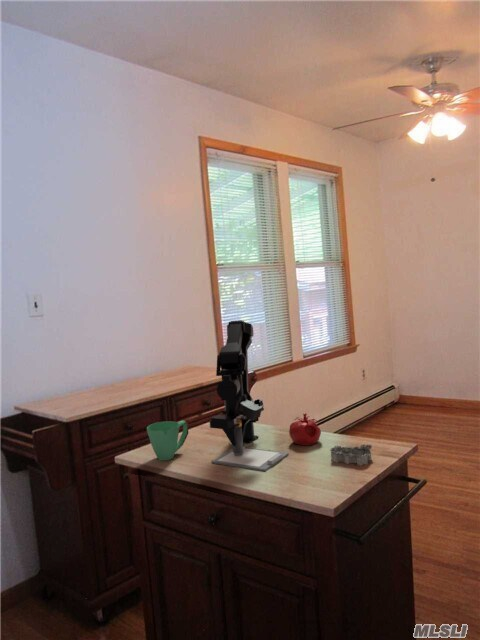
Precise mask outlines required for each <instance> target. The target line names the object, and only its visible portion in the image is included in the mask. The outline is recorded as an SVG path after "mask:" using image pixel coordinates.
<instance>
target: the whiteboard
mask: <svg viewBox="0 0 480 640" xmlns="http://www.w3.org/2000/svg"><path fill="white" fill-rule="evenodd" d="M289 454H290V453H289V452H285V451H284V452H283V451H276V450H269V449H260V448H253V447H247V446H243V454H242V455H238V456H237V455H234V452H233V448H232V449H231V450H229V451H227V452H225V453H223V454H221V455H220V456H218V457H216V458H215V459H212V460H211V464H215V465H221V466H222V465H223V466H230V467H235V468H241V469H249V470H255V471H260V472H266V471H268V470H269V469H271V468H272V467H273V466H275V465H277V463H279V462H280V461H282V460H283V459H284V458H286V457H287V456H289Z"/></svg>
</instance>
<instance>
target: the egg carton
mask: <svg viewBox="0 0 480 640" xmlns="http://www.w3.org/2000/svg"><path fill="white" fill-rule="evenodd" d="M372 448H373V446H372V444H361V445H360V446H359V445H356V446H341V445H334V447H331V449H329V451H330V457H331V460H330V461H333V460H334V461H333V463H339V461H340V462H344V464H345V463H346V464H347V465H350V464H356V463H357V464H356V465H357V466H364V465H363V464H365V465H368V464H369V463H368V461H372V451H371V450H372ZM349 463H350V464H349Z"/></svg>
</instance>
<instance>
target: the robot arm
mask: <svg viewBox="0 0 480 640" xmlns="http://www.w3.org/2000/svg"><path fill="white" fill-rule="evenodd" d="M253 327H254V326H253V325H252V323H249V322H246V321H244V320H242V319H241V320H240V319H239V320H230V321H228V324H227V325H226V336H227V338H226V343H225V345H224V346H222V347H221V348H220V350H219V353H218V354H217V355H216V375H215V376H216V377H221V381H220V382H219V383H218V384H217V387H216V393H217V395H218V397H219V398H220V399H221V401H224V402H223V403H224V409H223V410H221V411H222V414H218V415H215V416H212V417H211V418H210V420H208V421H209V428H211V429H219V430H222V431H223V432H224V434H225V435H226V437H227V439H228V440H229V442H230V444H231V446H236V435H237V428H238V426H239V425H240V424H237V423H236V419H240V420H241V421H242V438H243V444H244V443H245V444H248V443H252V442H253V441H255V440H256V439H258V438H259V435H255V430H254V429H255V428H254V427H255V425H254V423H257V422H259V420H260V419H259V418H260V417H261V415H262V414H261V413H262V412H263V411H264V410H265V408H264V402H263V400H262V399H261V398H256V399H255V400H254V399H253V398H252V396H251V394H250V391H249V364H248V361H249V359H248V358H249V357H248V355H249V354H248V349H249V348H250V346H251V344H252V342H253V337H254V328H253Z"/></svg>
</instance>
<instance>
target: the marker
mask: <svg viewBox="0 0 480 640" xmlns="http://www.w3.org/2000/svg"><path fill="white" fill-rule="evenodd" d="M236 423H237V424H240V425H239V426H238V428H237V435H236V446H232V445H231V446H232V449H233V452H234V455H237V456H238V455H242V454H243V447H244V442H243V438H242V421H241V420H240V419H236Z"/></svg>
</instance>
